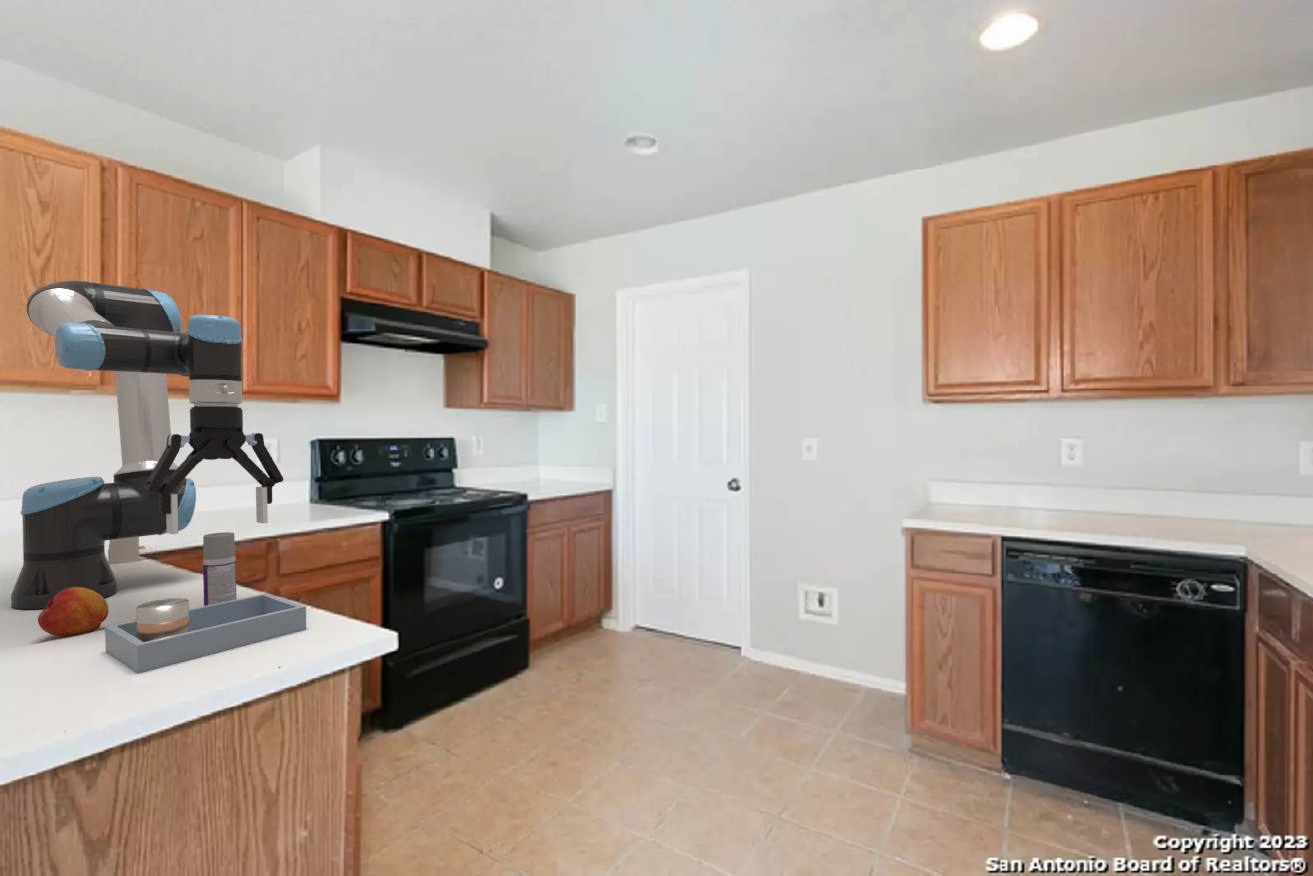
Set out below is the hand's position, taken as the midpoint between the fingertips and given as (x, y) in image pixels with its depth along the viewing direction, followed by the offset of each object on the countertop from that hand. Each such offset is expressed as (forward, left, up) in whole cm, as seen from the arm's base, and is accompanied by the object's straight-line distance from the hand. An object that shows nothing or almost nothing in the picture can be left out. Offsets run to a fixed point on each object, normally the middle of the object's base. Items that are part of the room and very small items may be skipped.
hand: (219, 528), depth 109 cm
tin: (+13, -12, -15) cm, 23 cm away
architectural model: (-72, +5, -17) cm, 74 cm away
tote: (+13, -6, -16) cm, 21 cm away
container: (0, 0, -16) cm, 16 cm away
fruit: (-10, -17, -16) cm, 26 cm away
